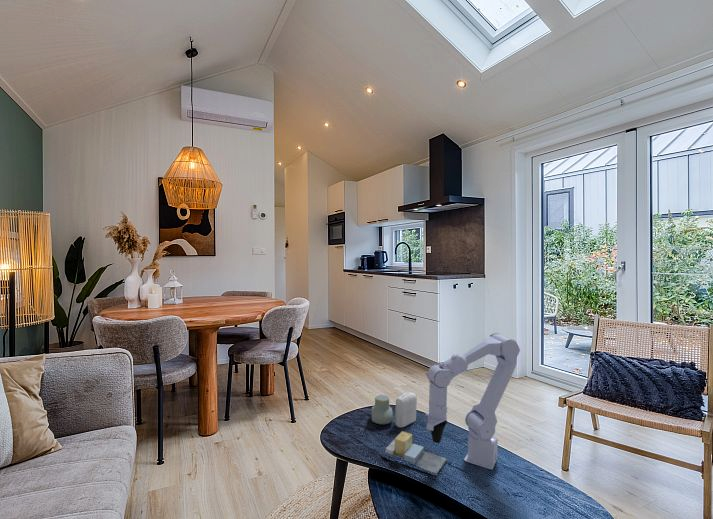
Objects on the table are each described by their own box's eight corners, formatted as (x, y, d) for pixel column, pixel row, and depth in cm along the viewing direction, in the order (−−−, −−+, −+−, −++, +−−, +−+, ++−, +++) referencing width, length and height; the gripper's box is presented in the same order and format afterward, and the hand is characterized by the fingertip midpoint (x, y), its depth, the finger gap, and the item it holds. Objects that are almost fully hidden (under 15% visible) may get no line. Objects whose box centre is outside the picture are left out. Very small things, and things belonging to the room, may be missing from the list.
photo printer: (409, 417, 167) (410, 388, 166) (417, 420, 164) (418, 391, 163) (393, 425, 160) (394, 395, 159) (401, 429, 157) (402, 399, 156)
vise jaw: (423, 452, 139) (423, 446, 139) (414, 463, 132) (414, 458, 132) (413, 449, 141) (413, 443, 141) (403, 460, 134) (403, 454, 134)
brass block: (412, 450, 140) (412, 434, 140) (405, 458, 135) (405, 442, 135) (401, 447, 142) (402, 431, 142) (394, 455, 137) (394, 438, 137)
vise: (446, 461, 136) (446, 452, 136) (436, 476, 127) (436, 467, 127) (394, 444, 146) (394, 436, 146) (381, 457, 138) (381, 449, 137)
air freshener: (371, 414, 169) (371, 392, 168) (390, 415, 169) (391, 392, 168) (372, 427, 158) (372, 403, 157) (392, 428, 158) (393, 403, 157)
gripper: (433, 392, 140) (432, 429, 141) (418, 407, 127) (417, 448, 128) (453, 396, 136) (452, 434, 137) (439, 413, 124) (438, 455, 125)
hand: (436, 441), depth 132 cm, fingers closed
